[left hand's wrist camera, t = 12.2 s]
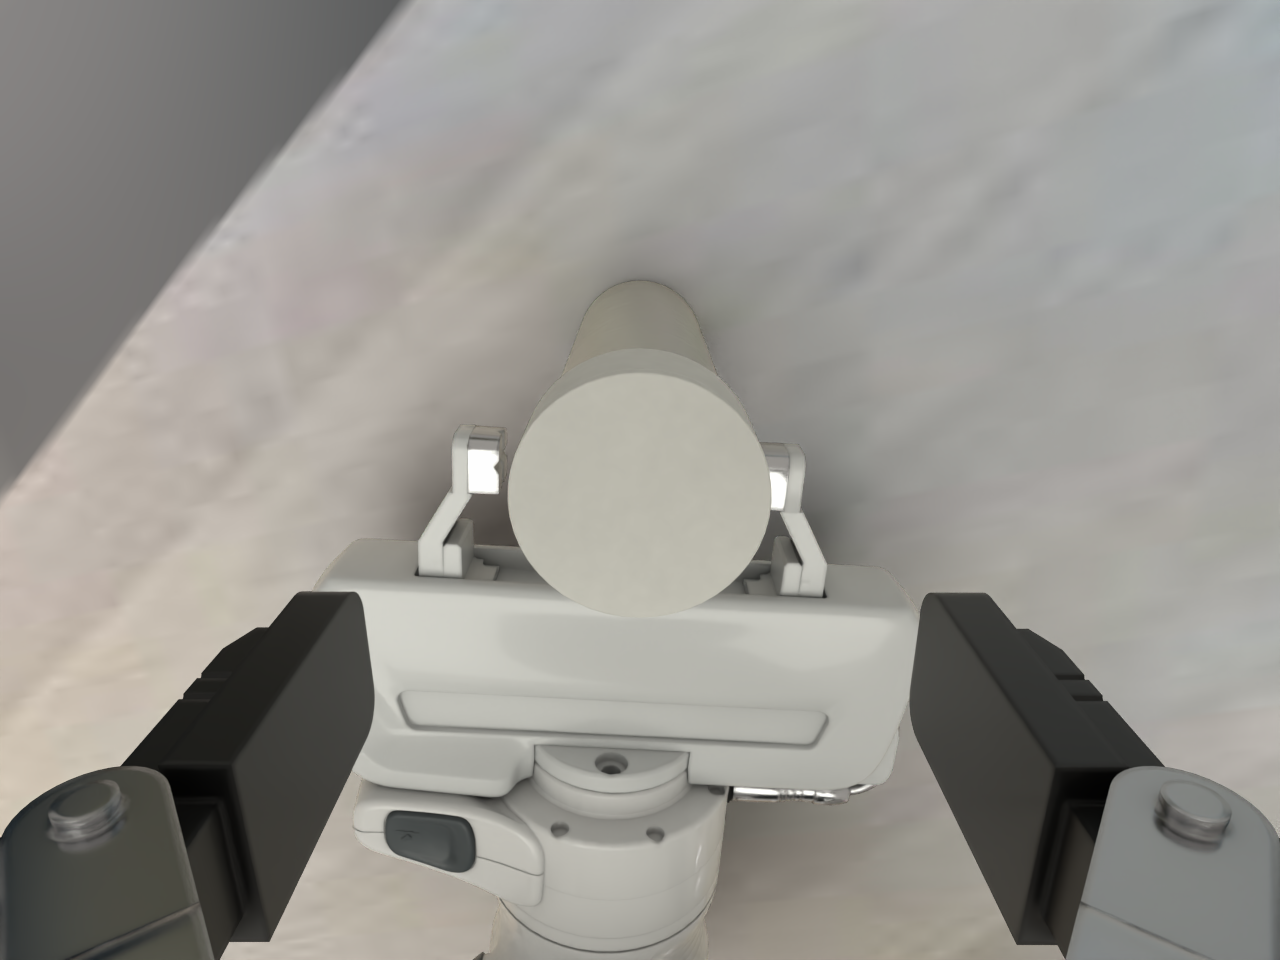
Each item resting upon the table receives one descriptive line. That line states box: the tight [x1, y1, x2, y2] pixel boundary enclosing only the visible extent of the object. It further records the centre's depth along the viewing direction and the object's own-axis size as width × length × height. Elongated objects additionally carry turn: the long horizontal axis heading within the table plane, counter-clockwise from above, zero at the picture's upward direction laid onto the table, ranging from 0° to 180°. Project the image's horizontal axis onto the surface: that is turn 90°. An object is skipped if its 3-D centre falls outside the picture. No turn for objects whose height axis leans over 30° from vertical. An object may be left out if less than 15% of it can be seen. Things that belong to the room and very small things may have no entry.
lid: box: [507, 348, 772, 618], centre depth 18 cm, size 5×5×2 cm
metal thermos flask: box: [561, 280, 718, 377], centre depth 24 cm, size 5×5×16 cm
